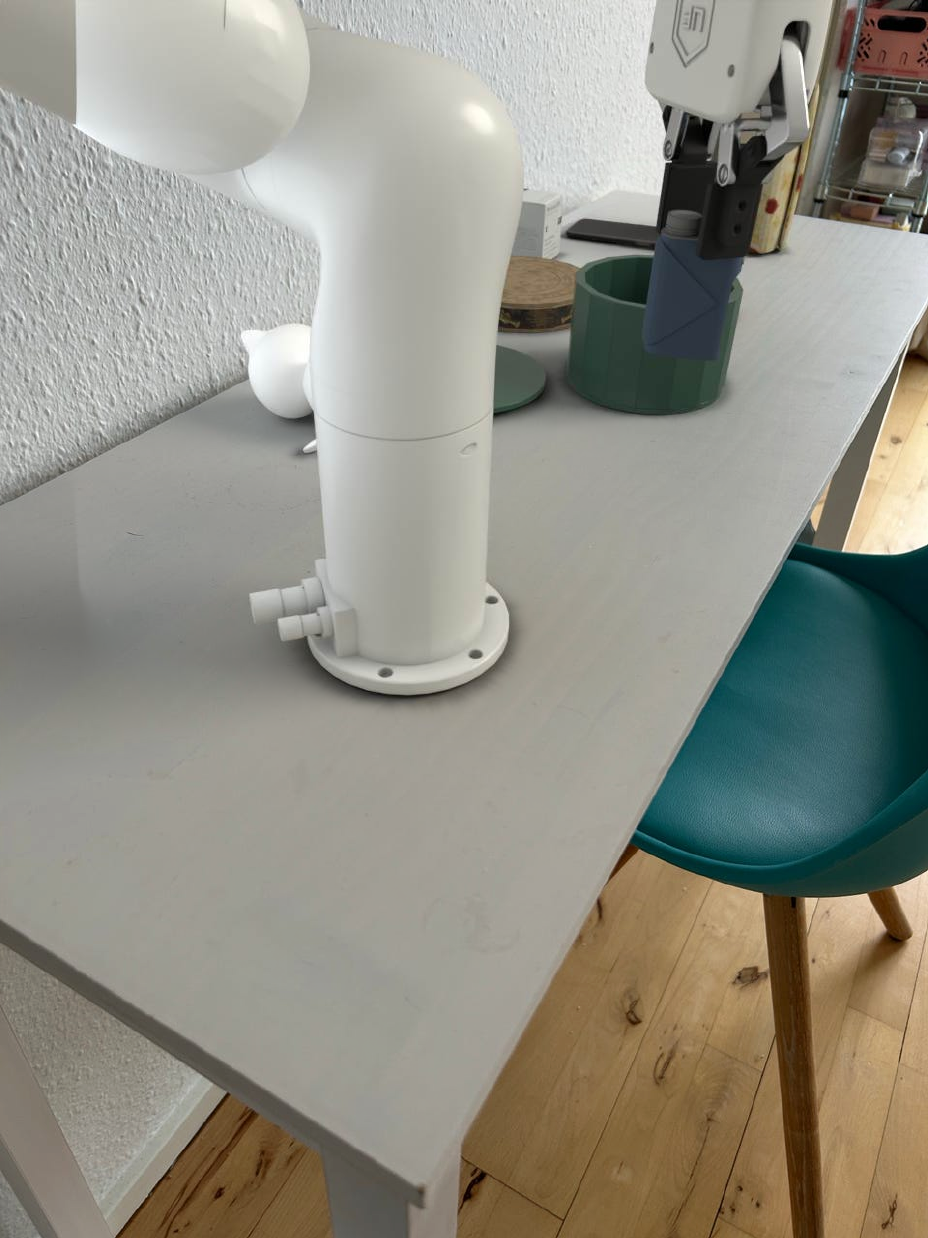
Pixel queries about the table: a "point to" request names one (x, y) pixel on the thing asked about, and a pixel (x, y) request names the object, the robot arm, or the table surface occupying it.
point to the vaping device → (686, 293)
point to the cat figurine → (281, 370)
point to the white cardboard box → (539, 224)
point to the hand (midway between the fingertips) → (700, 241)
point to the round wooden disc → (537, 295)
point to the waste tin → (636, 344)
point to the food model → (782, 194)
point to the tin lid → (515, 379)
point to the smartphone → (614, 232)
